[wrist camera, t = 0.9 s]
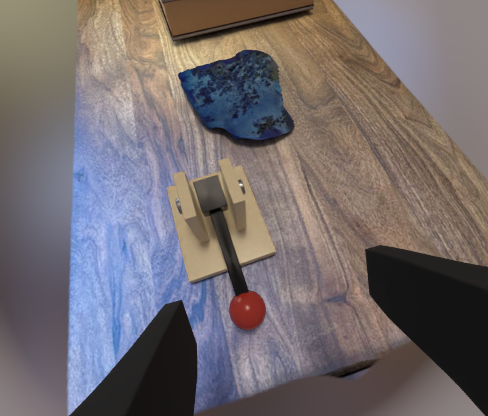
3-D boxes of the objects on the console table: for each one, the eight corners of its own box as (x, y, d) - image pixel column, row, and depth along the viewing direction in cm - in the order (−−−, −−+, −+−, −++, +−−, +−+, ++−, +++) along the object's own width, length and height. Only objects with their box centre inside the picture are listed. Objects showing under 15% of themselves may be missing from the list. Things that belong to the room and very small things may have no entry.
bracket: (275, 254, 25) (285, 229, 18) (191, 283, 24) (166, 269, 17) (241, 170, 29) (238, 123, 22) (169, 192, 28) (142, 150, 21)
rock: (270, 54, 38) (271, 41, 36) (304, 137, 31) (307, 127, 29) (179, 71, 37) (175, 59, 36) (193, 160, 31) (189, 151, 29)
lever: (267, 316, 21) (274, 327, 18) (235, 328, 21) (236, 341, 18) (222, 182, 23) (221, 171, 20) (192, 191, 23) (187, 182, 20)
